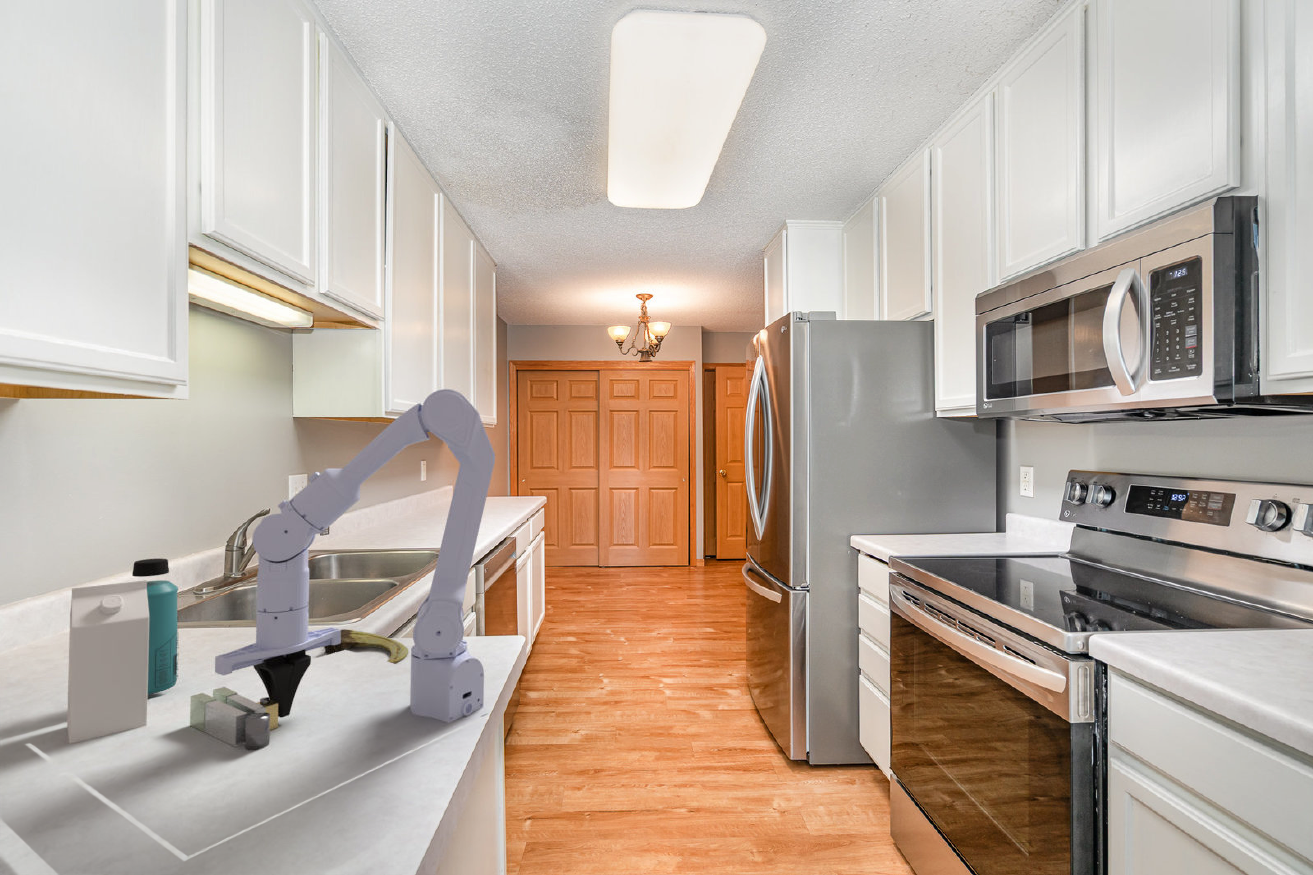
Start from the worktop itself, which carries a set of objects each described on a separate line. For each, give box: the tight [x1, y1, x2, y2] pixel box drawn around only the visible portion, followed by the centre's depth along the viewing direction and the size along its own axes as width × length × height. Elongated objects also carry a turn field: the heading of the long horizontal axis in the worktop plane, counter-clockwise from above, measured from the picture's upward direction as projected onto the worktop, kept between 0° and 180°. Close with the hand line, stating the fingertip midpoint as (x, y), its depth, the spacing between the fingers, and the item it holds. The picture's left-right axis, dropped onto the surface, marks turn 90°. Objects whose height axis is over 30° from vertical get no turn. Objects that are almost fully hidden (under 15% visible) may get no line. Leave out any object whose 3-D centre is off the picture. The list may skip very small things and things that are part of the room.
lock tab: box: [256, 696, 279, 731], centre depth 78 cm, size 2×2×4 cm
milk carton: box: [66, 579, 149, 744], centre depth 79 cm, size 7×7×19 cm
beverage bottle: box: [131, 558, 180, 695], centre depth 91 cm, size 6×7×20 cm
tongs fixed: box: [189, 692, 271, 751], centre depth 76 cm, size 14×3×4 cm, turn 59°
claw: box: [324, 629, 409, 664], centre depth 113 cm, size 20×10×3 cm, turn 68°
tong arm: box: [212, 686, 266, 717], centre depth 78 cm, size 11×1×4 cm, turn 57°
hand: (281, 714), depth 80 cm, fingers closed
